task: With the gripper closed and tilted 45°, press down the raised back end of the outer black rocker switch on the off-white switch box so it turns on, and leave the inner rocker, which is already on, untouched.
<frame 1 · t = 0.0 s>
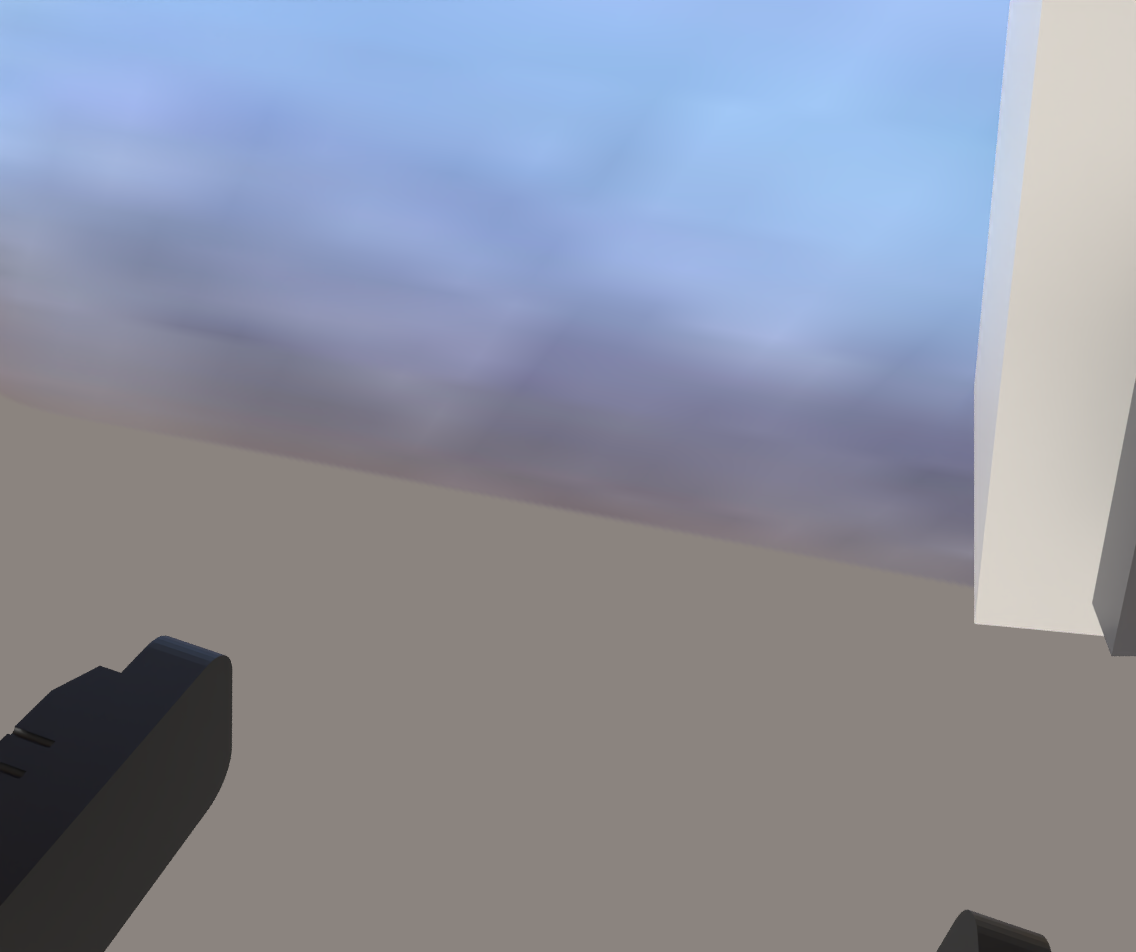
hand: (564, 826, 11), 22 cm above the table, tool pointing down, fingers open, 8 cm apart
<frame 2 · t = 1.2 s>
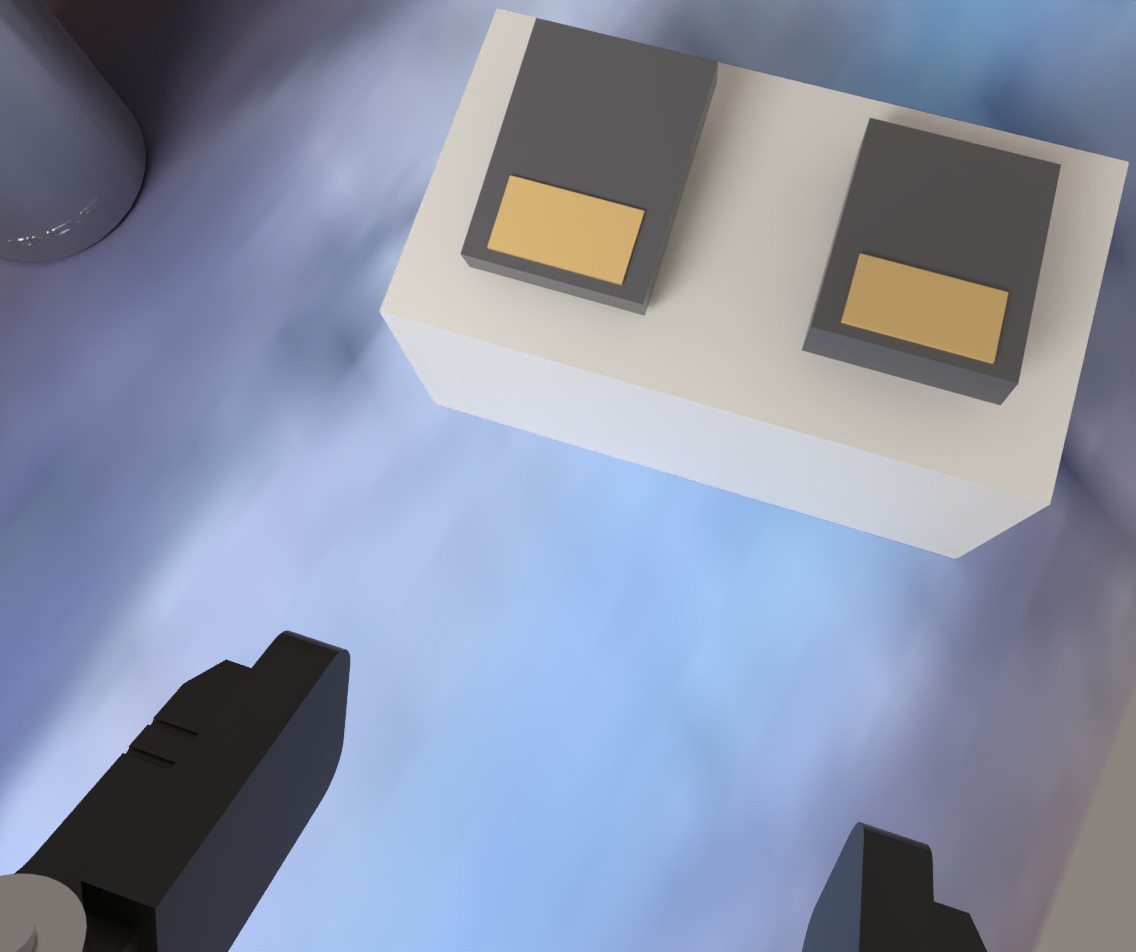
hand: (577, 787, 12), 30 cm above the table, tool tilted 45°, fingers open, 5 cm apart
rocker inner: (590, 166, 34), point 12 cm above the table, hinge at 9.0°
rocker outer: (933, 254, 33), point 12 cm above the table, hinge at -9.0°
switch box: (727, 346, 45), on the table
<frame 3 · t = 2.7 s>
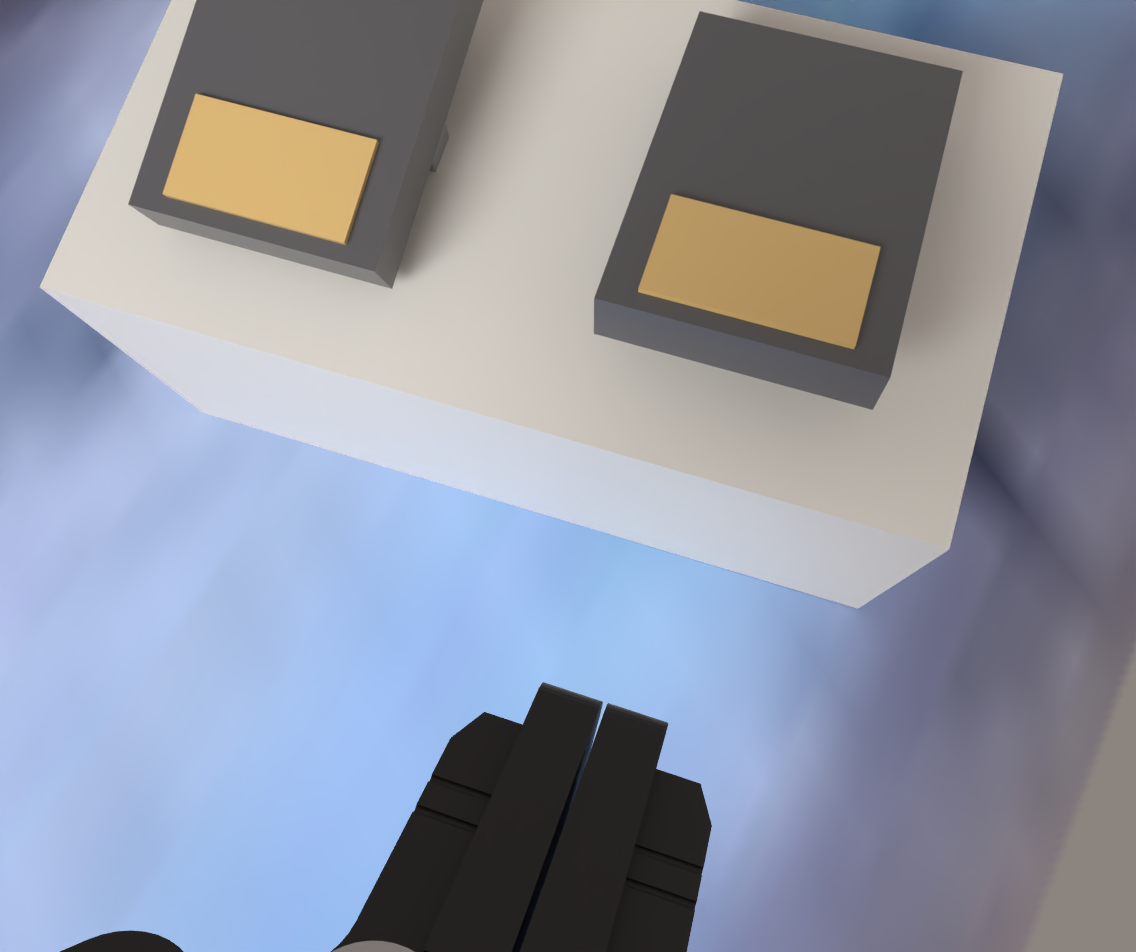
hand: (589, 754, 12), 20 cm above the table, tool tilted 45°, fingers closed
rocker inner: (313, 82, 25), point 12 cm above the table, hinge at 9.0°
rocker outer: (782, 197, 23), point 12 cm above the table, hinge at -9.0°
switch box: (573, 336, 35), on the table
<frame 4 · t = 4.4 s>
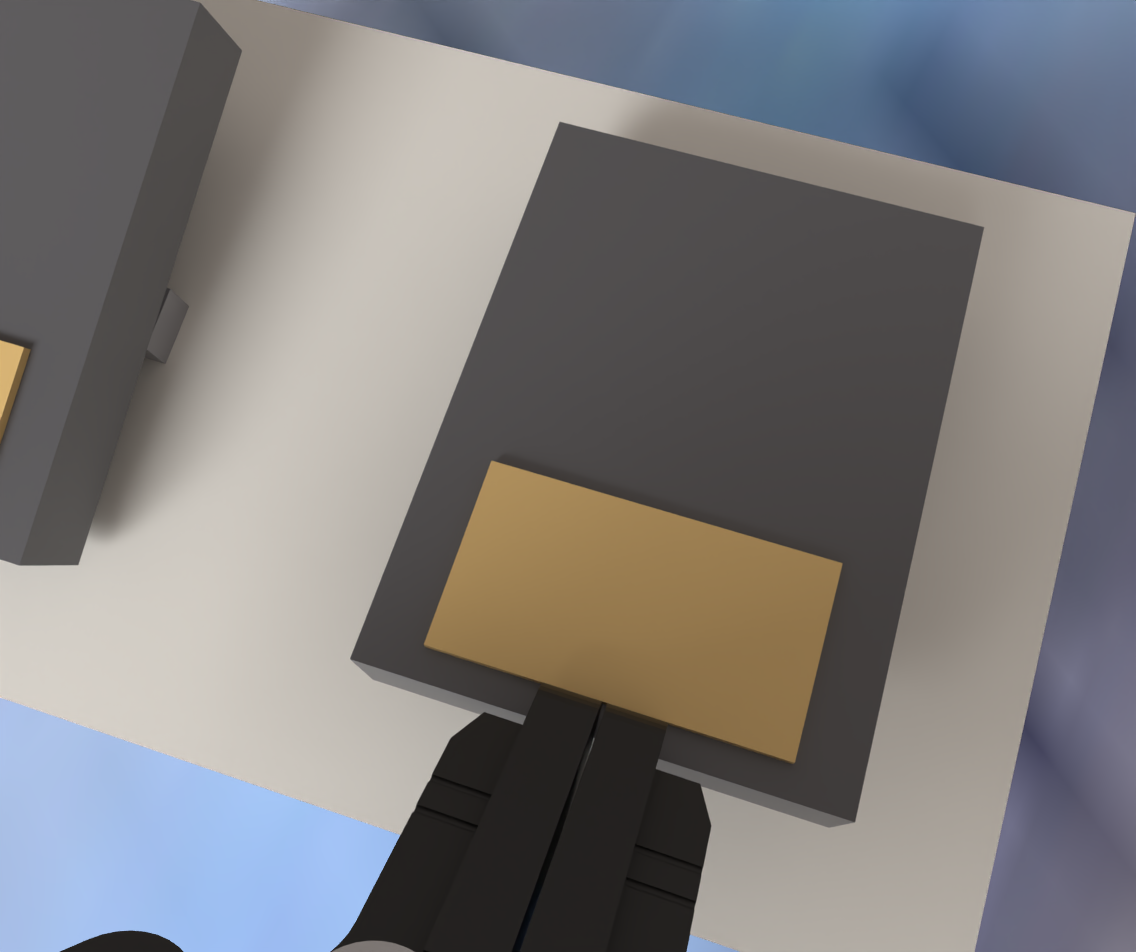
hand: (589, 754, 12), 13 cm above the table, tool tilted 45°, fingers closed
rocker outer: (684, 446, 14), point 12 cm above the table, hinge at -7.6°, touching gripper
switch box: (446, 508, 26), on the table
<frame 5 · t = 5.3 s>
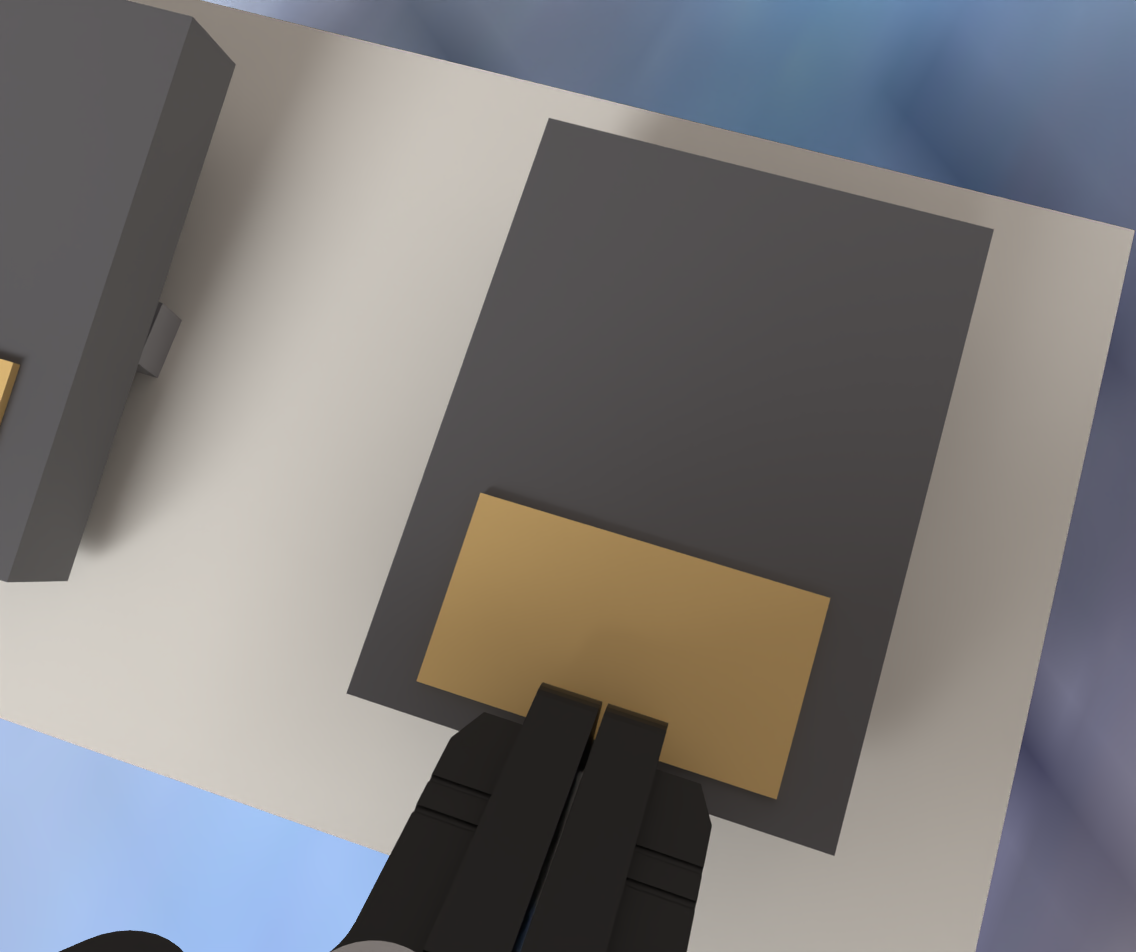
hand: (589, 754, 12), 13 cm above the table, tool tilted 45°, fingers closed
rocker outer: (677, 466, 14), point 12 cm above the table, hinge at 0.7°
switch box: (443, 521, 26), on the table
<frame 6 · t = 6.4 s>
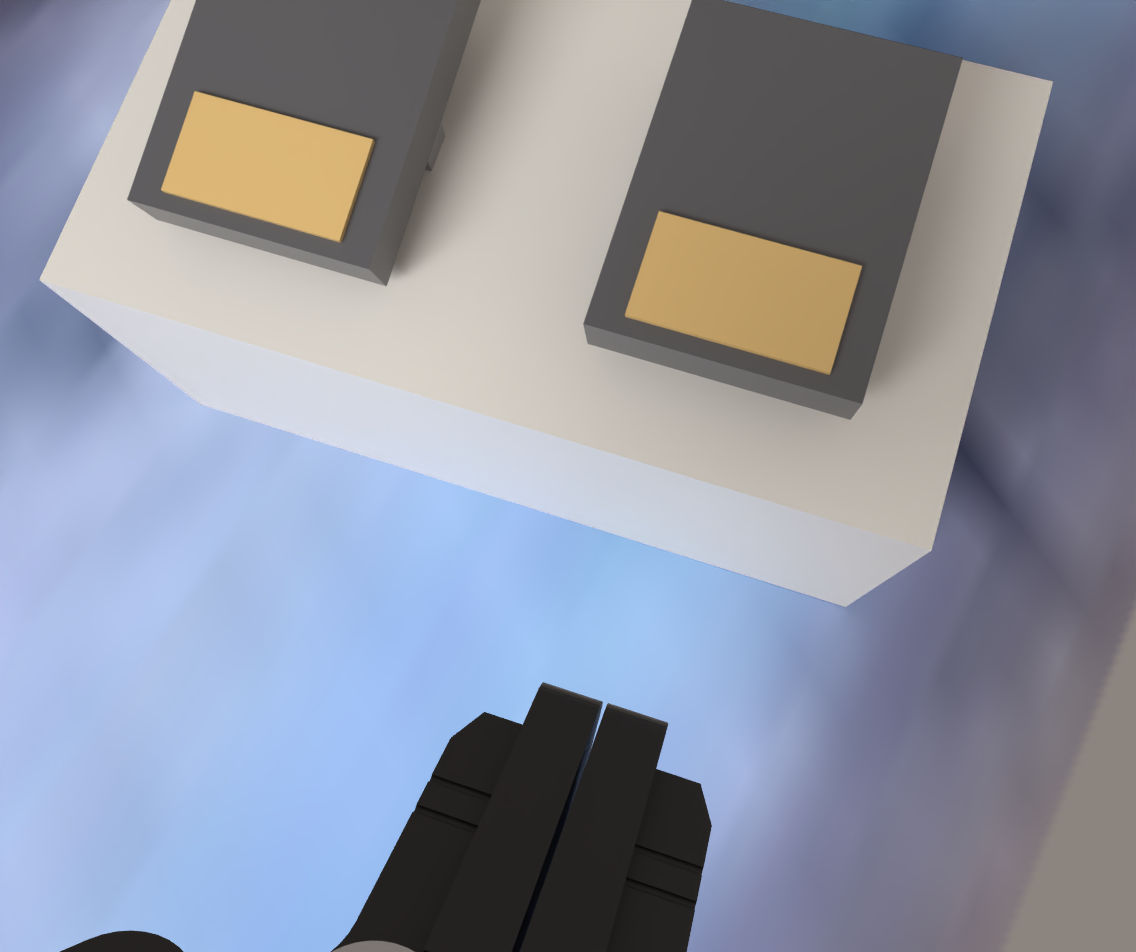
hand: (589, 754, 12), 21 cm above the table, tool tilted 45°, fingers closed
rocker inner: (311, 80, 25), point 12 cm above the table, hinge at 9.0°
rocker outer: (771, 202, 23), point 12 cm above the table, hinge at 3.7°
switch box: (568, 333, 36), on the table
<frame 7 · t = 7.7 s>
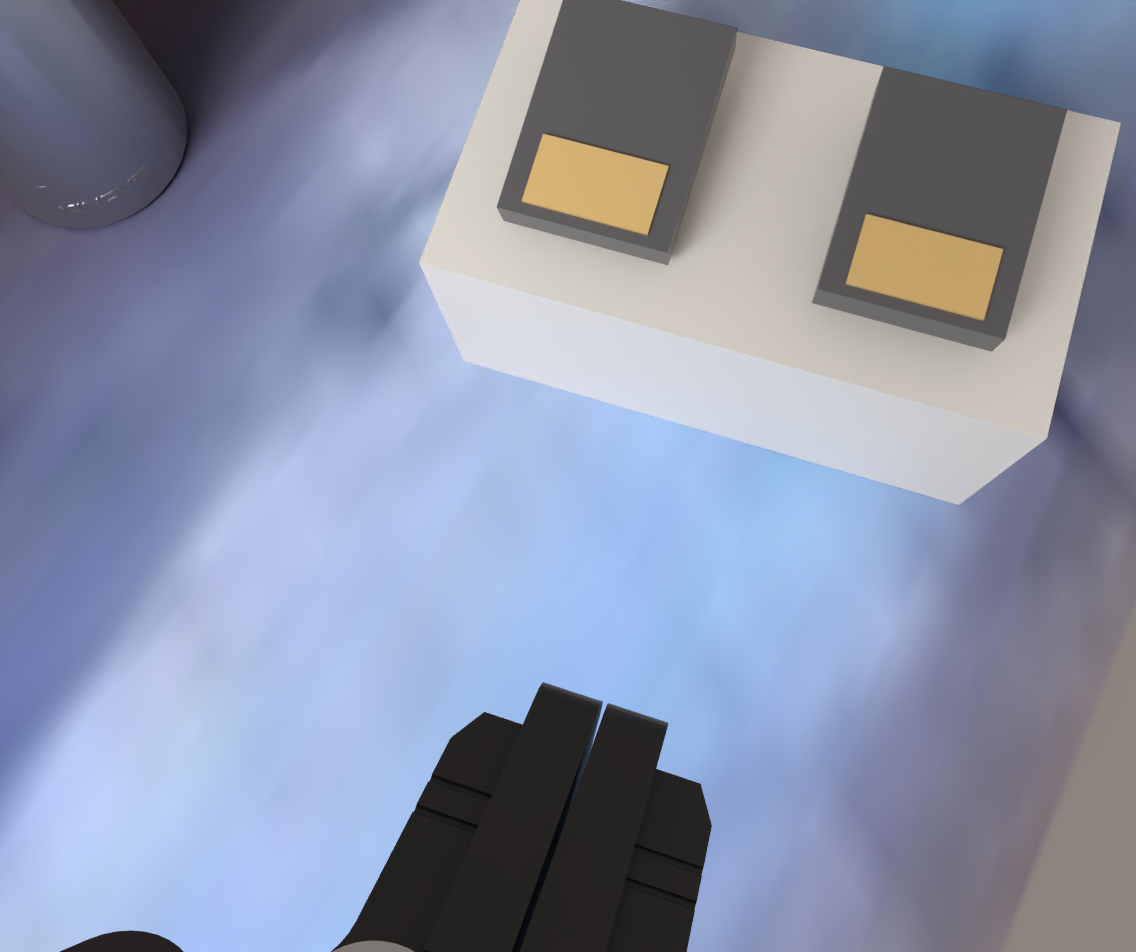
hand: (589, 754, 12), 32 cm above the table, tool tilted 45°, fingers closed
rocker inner: (617, 125, 37), point 12 cm above the table, hinge at 9.0°
rocker outer: (937, 207, 35), point 12 cm above the table, hinge at 4.9°
switch box: (741, 306, 47), on the table
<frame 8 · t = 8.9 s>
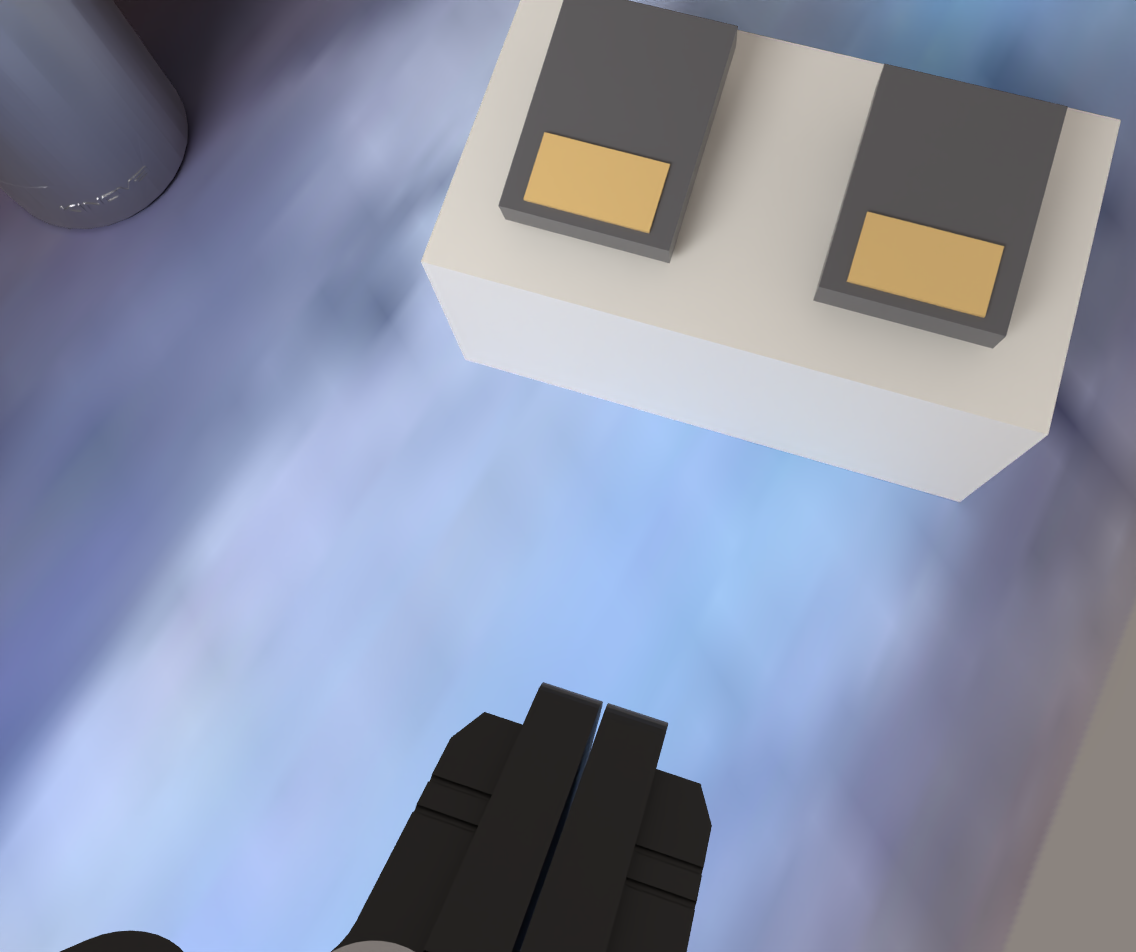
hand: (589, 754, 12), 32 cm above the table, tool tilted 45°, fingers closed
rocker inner: (618, 124, 37), point 12 cm above the table, hinge at 9.0°
rocker outer: (938, 204, 35), point 12 cm above the table, hinge at 5.2°
switch box: (742, 304, 47), on the table
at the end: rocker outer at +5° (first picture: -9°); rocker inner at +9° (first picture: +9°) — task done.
